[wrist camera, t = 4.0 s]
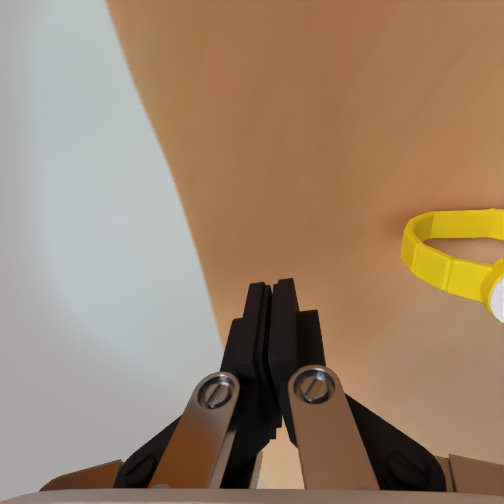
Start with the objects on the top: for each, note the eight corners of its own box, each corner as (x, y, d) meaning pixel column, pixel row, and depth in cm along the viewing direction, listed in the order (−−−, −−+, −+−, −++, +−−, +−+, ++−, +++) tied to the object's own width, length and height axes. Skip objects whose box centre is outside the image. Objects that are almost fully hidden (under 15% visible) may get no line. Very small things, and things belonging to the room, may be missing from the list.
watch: (532, 189, 13) (690, 250, 8) (514, 244, 15) (642, 329, 9) (390, 199, 14) (450, 260, 9) (385, 251, 15) (435, 331, 10)
